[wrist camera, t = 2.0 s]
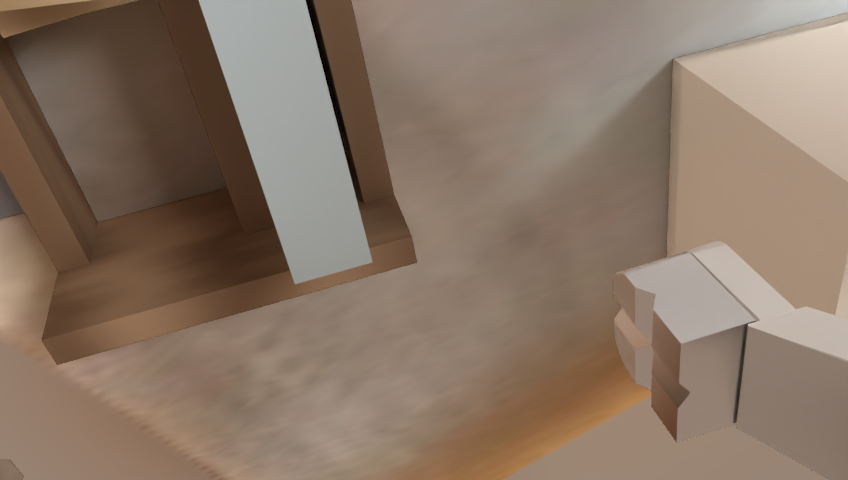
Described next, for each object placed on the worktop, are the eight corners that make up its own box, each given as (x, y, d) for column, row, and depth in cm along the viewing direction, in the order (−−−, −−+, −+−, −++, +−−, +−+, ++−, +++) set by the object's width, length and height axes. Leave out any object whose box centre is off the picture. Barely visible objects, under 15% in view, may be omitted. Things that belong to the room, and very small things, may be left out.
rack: (251, -391, 22) (270, -428, 17) (379, 172, 34) (417, 262, 28) (-218, -303, 21) (-367, -312, 15) (80, 253, 32) (56, 364, 27)
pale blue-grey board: (223, -270, 24) (237, -265, 16) (327, 126, 32) (372, 262, 24) (143, -253, 24) (116, -240, 16) (269, 142, 32) (294, 284, 24)
